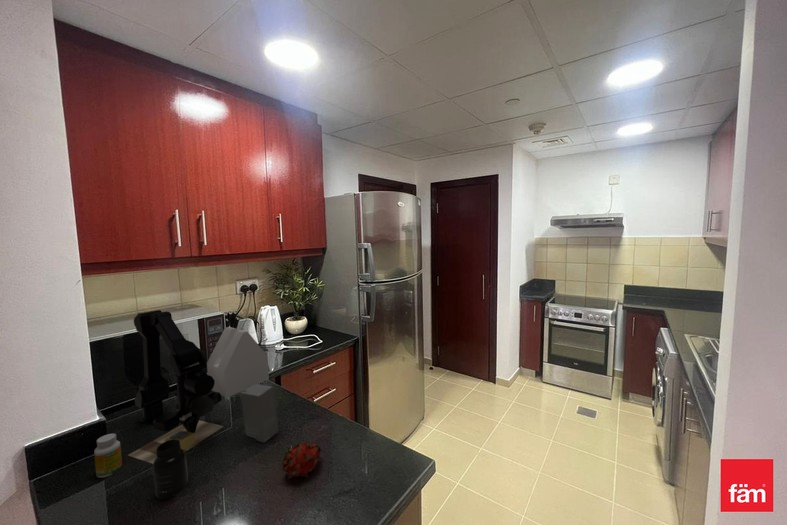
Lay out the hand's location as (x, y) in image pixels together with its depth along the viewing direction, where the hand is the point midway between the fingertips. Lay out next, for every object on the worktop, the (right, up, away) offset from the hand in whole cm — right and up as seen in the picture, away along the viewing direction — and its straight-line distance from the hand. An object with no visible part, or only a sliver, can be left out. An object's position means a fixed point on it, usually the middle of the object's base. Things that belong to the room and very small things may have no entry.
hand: (192, 435), depth 99 cm
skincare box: (+21, -2, +2) cm, 21 cm away
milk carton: (-5, 0, +41) cm, 41 cm away
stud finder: (-1, -1, -3) cm, 4 cm away
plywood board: (-4, -2, 0) cm, 5 cm away
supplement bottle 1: (-15, -4, -12) cm, 20 cm away
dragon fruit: (+39, -2, -14) cm, 42 cm away
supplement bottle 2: (+8, -3, -20) cm, 21 cm away
